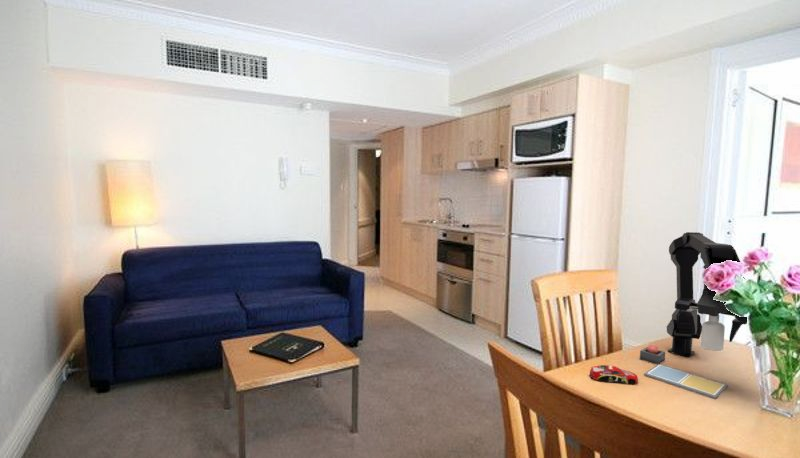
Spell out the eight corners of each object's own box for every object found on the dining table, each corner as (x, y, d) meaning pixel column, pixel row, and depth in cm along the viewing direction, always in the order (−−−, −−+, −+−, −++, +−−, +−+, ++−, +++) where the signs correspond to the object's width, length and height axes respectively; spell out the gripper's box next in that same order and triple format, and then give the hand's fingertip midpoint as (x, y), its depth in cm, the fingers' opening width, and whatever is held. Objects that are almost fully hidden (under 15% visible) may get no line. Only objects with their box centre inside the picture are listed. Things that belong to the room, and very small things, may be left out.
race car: (634, 378, 122) (635, 366, 121) (640, 386, 116) (641, 373, 116) (588, 373, 125) (588, 361, 124) (592, 381, 119) (593, 368, 119)
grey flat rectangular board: (658, 365, 130) (658, 363, 130) (727, 386, 116) (728, 384, 116) (643, 375, 123) (643, 373, 123) (715, 399, 109) (715, 396, 109)
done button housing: (646, 355, 138) (646, 346, 138) (664, 360, 134) (665, 351, 134) (639, 359, 135) (640, 350, 135) (658, 364, 130) (658, 356, 130)
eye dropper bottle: (698, 344, 122) (701, 306, 121) (721, 348, 120) (724, 309, 119) (701, 349, 118) (704, 310, 117) (725, 353, 116) (728, 313, 115)
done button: (649, 349, 136) (649, 344, 136) (659, 352, 134) (660, 347, 134) (645, 352, 134) (645, 346, 134) (656, 355, 132) (656, 349, 132)
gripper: (670, 284, 120) (667, 334, 121) (751, 296, 105) (746, 353, 106) (682, 279, 127) (679, 327, 128) (759, 290, 112) (755, 344, 113)
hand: (712, 337), depth 119 cm, fingers closed on eye dropper bottle, 8 cm apart
